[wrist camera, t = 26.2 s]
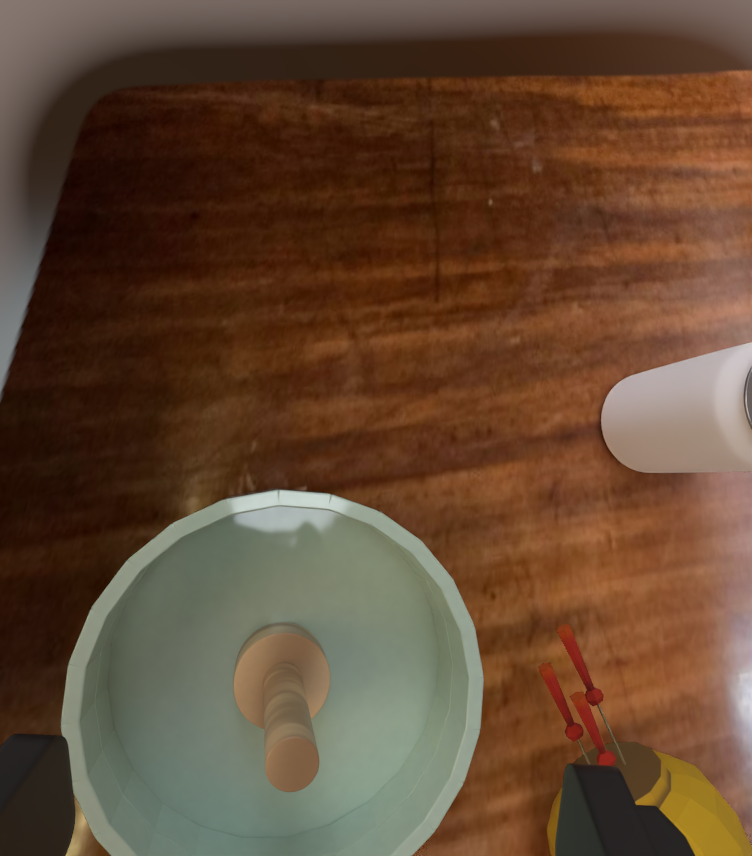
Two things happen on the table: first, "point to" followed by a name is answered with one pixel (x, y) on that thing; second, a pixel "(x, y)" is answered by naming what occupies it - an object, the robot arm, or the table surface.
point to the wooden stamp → (283, 698)
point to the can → (684, 415)
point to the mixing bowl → (214, 697)
